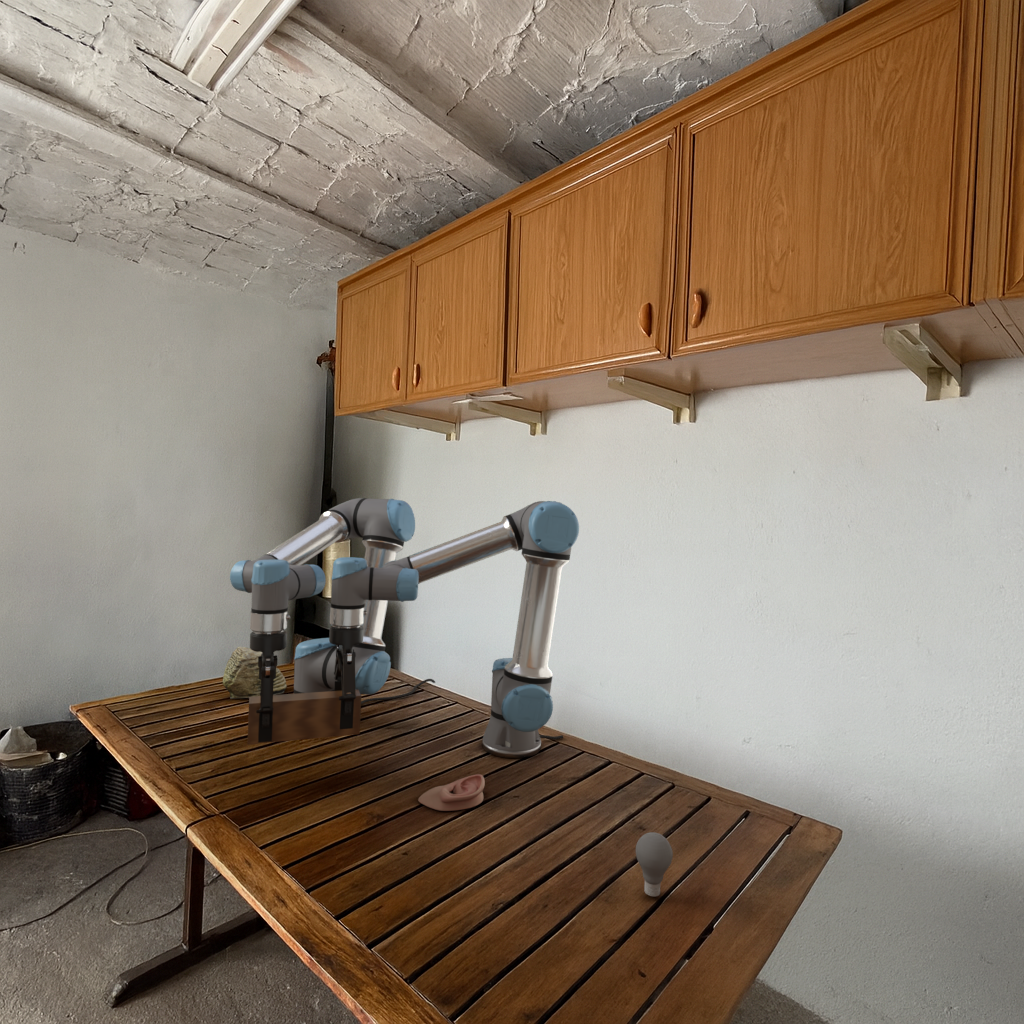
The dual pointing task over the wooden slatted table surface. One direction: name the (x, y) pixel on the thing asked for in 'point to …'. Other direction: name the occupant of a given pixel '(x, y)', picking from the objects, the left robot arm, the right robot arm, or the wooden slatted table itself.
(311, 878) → the wooden slatted table surface
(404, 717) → the wooden slatted table surface
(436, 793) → the anatomical model
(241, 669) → the fossil
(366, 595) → the right robot arm
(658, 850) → the light bulb
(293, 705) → the bar
